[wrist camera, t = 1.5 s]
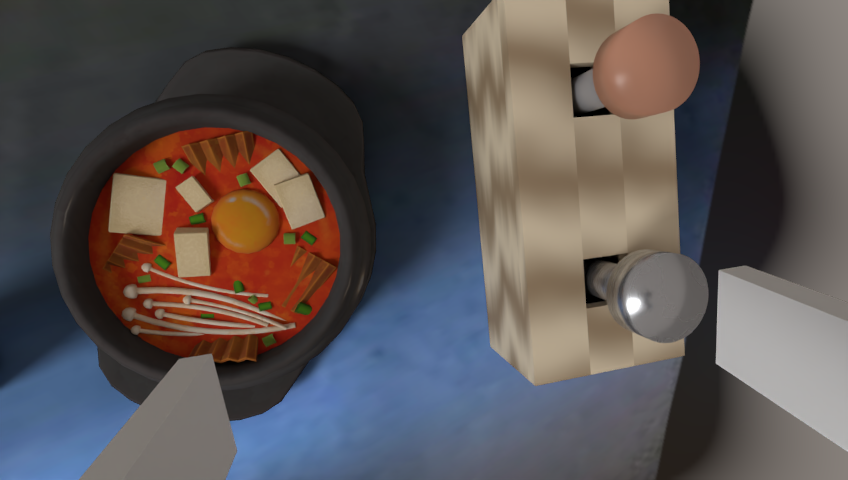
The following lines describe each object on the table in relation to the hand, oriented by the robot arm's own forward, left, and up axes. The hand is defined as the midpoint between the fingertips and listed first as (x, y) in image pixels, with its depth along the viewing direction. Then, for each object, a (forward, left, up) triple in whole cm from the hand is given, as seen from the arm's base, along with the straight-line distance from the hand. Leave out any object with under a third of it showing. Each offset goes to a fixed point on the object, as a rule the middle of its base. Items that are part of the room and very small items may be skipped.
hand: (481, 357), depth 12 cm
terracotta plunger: (+9, -14, -19) cm, 25 cm away
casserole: (+2, +9, -24) cm, 26 cm away
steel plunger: (-3, -14, -19) cm, 24 cm away
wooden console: (+3, -14, -23) cm, 27 cm away
